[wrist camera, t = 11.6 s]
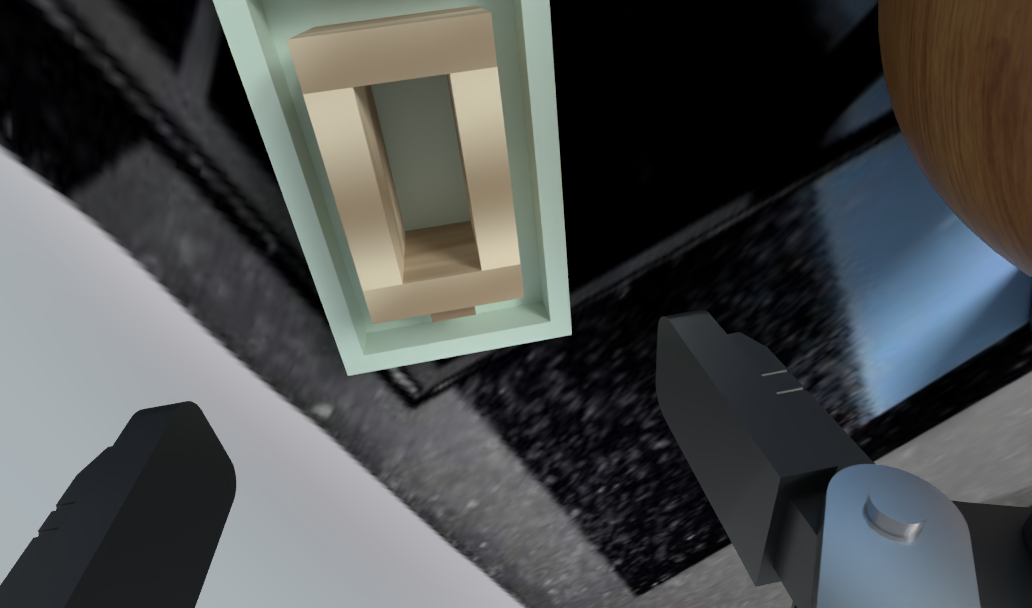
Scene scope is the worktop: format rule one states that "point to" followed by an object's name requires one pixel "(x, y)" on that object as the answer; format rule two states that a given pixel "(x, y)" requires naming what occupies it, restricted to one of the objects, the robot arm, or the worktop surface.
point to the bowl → (967, 109)
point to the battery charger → (1031, 320)
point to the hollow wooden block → (366, 170)
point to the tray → (414, 172)
